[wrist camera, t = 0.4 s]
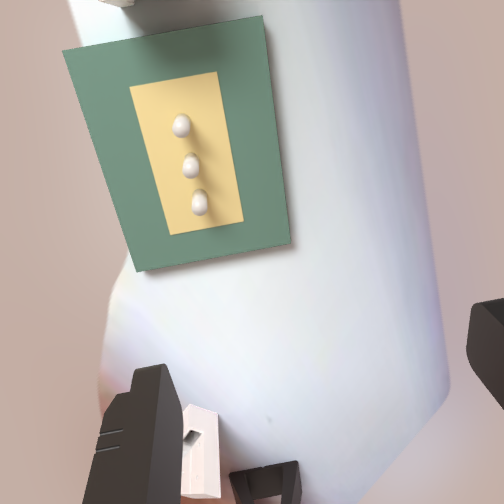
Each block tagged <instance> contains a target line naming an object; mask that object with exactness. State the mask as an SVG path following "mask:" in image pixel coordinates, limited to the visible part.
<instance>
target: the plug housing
mask: <svg viewBox="0 0 504 504" xmlns="http://www.w3.org/2000/svg"><path fill="white" fill-rule="evenodd" d="M99 1H101V2H104V3H107V4H111V5H114V6H117V7H126V6H132V5H135V4H134V0H99Z"/></svg>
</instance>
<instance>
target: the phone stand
mask: <svg viewBox="0 0 504 504" xmlns="http://www.w3.org/2000/svg"><path fill="white" fill-rule="evenodd" d="M229 478H230V482H231V486H232V489H233V493H234V497H235V500H236V504H254V501H253V500H256V499H261V498H266V497H271V496H276V495H282V497H281V504H300V501H301V494H302V488H301V481H300V474H299V467H298V462H297V461H290V462H285V463H279V464H274V465H269V466H265V467H264V468H262V467H258V468H253V469H248V470H242V471H237V472H232V473H230V474H229Z"/></svg>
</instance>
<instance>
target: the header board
mask: <svg viewBox="0 0 504 504" xmlns="http://www.w3.org/2000/svg"><path fill="white" fill-rule="evenodd" d="M62 52H63V55H64V58H65V61H66V64H67V67H68V70H69V73H70V75H71V79H72V82H73V85H74V88H75V91H76V94H77V97H78V99H79V103H80V106H81V109H82V112H83V114H84V117H85V120H86V123H87V126H88V129H89V132H90V135H91V138H92V141H93V144H94V147H95V150H96V153H97V156H98V159H99V162H100V165H101V168H102V171H103V174H104V177H105V180H106V183H107V186H108V189H109V192H110V195H111V198H112V201H113V204H114V207H115V210H116V213H117V216H118V218H119V221H120V225H121V228H122V231H123V233H124V236H125V239H126V242H127V245H128V248H129V251H130V254H131V257H132V260H133V263H134V266H135V269H136V272H141V271H147V270H152V269H157V268H163V267H168V266H173V265H179V264H184V263H189V262H195V261H200V260H205V259H211V258H216V257H221V256H227V255H232V254H237V253H242V252H248V251H253V250H258V249H264V248H269V247H274V246H280V245H285V244H290V243H291V239H290V231H289V223H288V215H287V207H286V199H285V191H284V183H283V175H282V167H281V160H280V152H279V144H278V136H277V128H276V120H275V112H274V104H273V96H272V88H271V80H270V72H269V64H268V56H267V48H266V40H265V32H264V24H263V16H262V15H261V16H255V17H250V18H244V19H238V20H233V21H227V22H221V23H216V24H210V25H204V26H199V27H193V28H187V29H182V30H176V31H171V32H165V33H159V34H154V35H148V36H142V37H137V38H131V39H125V40H120V41H114V42H108V43H103V44H97V45H92V46H86V47H80V48H75V49H69V50H63V51H62Z"/></svg>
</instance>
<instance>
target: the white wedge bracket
mask: <svg viewBox="0 0 504 504" xmlns="http://www.w3.org/2000/svg"><path fill="white" fill-rule="evenodd" d="M182 414H183V424H184V430H183V454H182V477H181V495H182V496H186V497H189V498H221V491H220V464H219V437H218V413H215V412H212V411H209V410H206V409H204V408H201V407H198V406H195V405H192V404H189V405H188V406H187V408H186V409H185V411H184V412H183V413H182ZM191 430H193V432H190V431H191Z"/></svg>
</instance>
